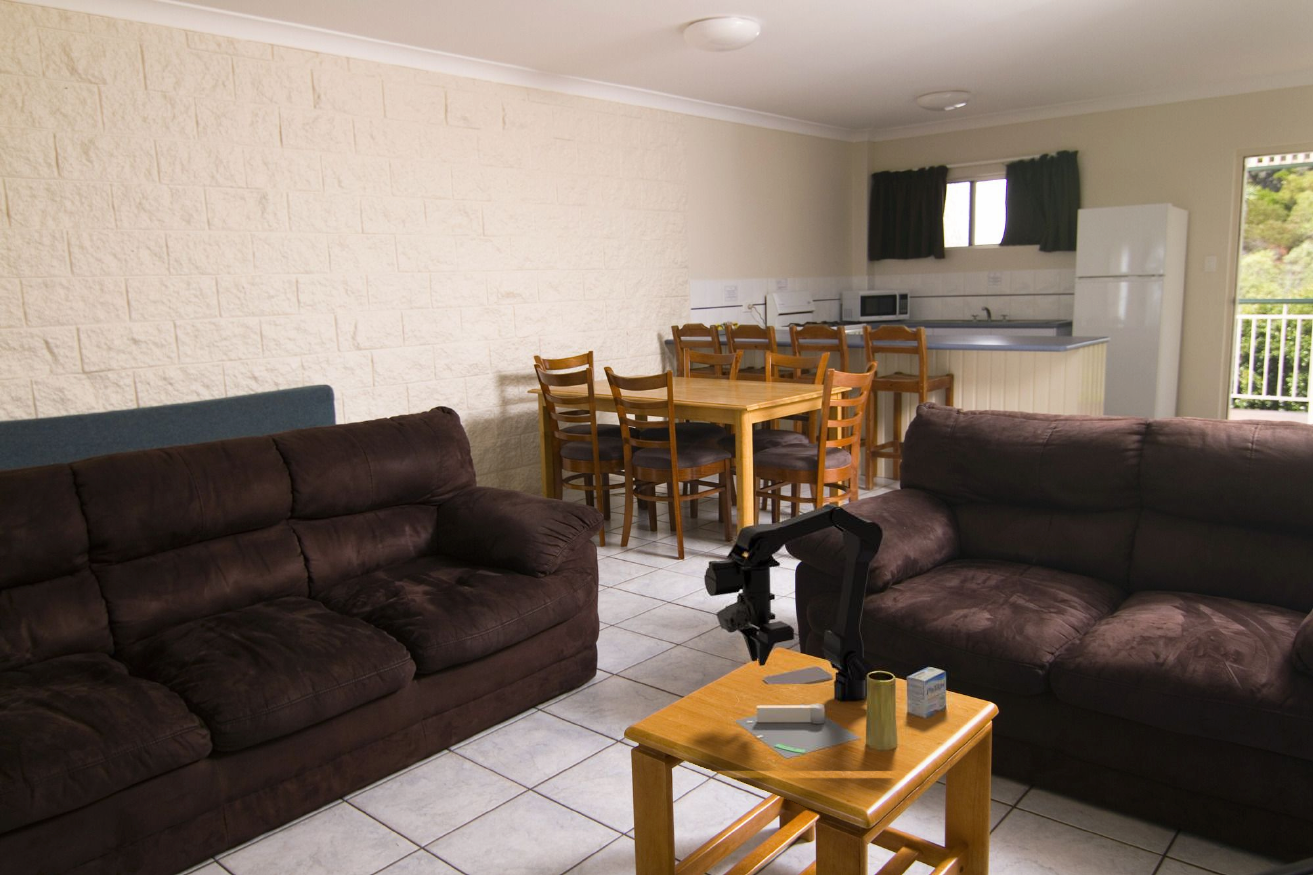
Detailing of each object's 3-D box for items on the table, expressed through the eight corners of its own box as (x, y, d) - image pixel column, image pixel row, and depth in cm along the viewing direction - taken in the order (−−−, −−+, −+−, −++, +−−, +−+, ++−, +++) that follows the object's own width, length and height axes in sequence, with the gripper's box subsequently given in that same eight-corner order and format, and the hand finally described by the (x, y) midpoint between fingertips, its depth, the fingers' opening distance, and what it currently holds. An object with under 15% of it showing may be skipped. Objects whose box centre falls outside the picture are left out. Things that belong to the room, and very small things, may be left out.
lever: (823, 717, 185) (823, 703, 185) (825, 723, 182) (825, 709, 182) (757, 717, 186) (756, 703, 186) (757, 724, 183) (757, 709, 183)
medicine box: (925, 722, 184) (925, 681, 183) (906, 716, 187) (906, 675, 186) (946, 711, 189) (946, 670, 188) (927, 705, 193) (927, 665, 191)
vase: (892, 758, 170) (891, 684, 168) (860, 751, 173) (859, 678, 171) (902, 744, 175) (901, 673, 173) (871, 738, 178) (870, 667, 176)
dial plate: (803, 707, 193) (803, 702, 193) (860, 742, 176) (860, 737, 176) (734, 725, 186) (733, 720, 186) (786, 763, 169) (785, 757, 169)
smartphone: (761, 677, 210) (817, 665, 215) (761, 681, 210) (817, 669, 215) (777, 688, 203) (834, 676, 208) (777, 692, 203) (834, 679, 209)
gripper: (699, 584, 190) (701, 656, 192) (745, 607, 174) (747, 686, 175) (745, 576, 195) (747, 646, 197) (795, 598, 178) (796, 675, 180)
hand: (758, 663), depth 187 cm, fingers open, 3 cm apart
